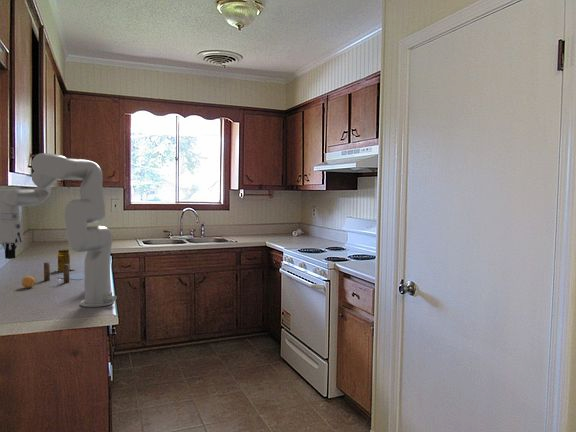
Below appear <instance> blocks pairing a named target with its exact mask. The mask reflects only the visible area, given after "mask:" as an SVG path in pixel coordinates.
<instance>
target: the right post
mask: <svg viewBox="0 0 576 432" xmlns="http://www.w3.org/2000/svg"><path fill="white" fill-rule="evenodd" d="M62 273H63V275H62V276H63V278H62V280H63V283H64V284H69V283H70V279H69V275H70V271H69V264H64V265H63V272H62Z"/></svg>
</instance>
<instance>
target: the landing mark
mask: <svg viewBox="0 0 576 432" xmlns="http://www.w3.org/2000/svg"><path fill="white" fill-rule="evenodd" d="M56 278H57V279H63V275H62V276H59V277H56ZM69 280H74V281H81V280H85V277H84V273H79V272H77V273H73V274H72V273H71V274H69Z"/></svg>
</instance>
